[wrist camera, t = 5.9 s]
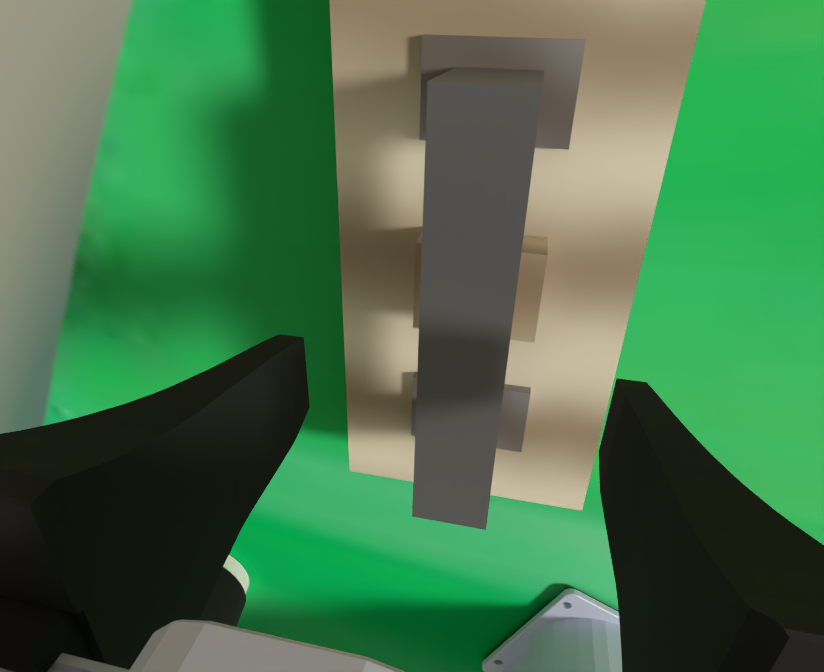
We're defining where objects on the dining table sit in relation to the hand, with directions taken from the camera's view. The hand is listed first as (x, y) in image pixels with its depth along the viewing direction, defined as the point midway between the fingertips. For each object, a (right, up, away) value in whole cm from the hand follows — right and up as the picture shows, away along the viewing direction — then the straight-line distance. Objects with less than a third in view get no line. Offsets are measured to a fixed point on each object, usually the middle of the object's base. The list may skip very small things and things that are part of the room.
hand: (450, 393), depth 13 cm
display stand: (+2, +5, +9) cm, 10 cm away
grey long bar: (+1, +3, +6) cm, 7 cm away
